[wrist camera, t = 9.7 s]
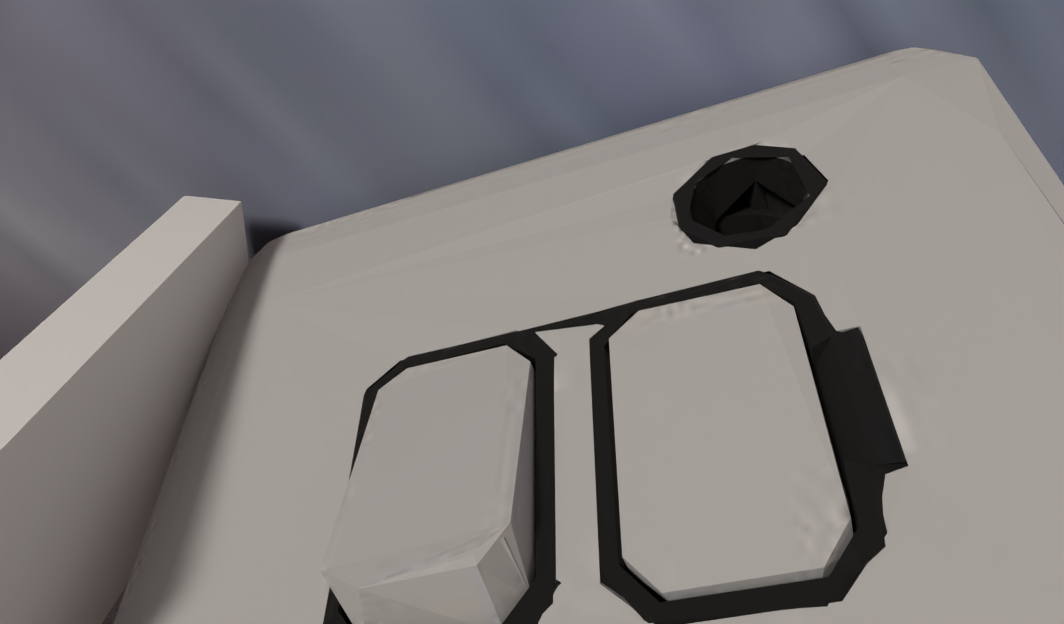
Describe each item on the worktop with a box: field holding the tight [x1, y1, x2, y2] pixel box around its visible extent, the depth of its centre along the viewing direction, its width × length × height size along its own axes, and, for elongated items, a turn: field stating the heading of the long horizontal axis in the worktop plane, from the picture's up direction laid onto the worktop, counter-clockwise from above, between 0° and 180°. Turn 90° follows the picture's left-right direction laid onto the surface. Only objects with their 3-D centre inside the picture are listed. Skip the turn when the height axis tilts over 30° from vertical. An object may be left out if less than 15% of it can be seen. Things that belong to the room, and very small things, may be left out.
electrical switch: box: [113, 47, 1064, 624], centre depth 8 cm, size 9×5×9 cm, turn 109°
